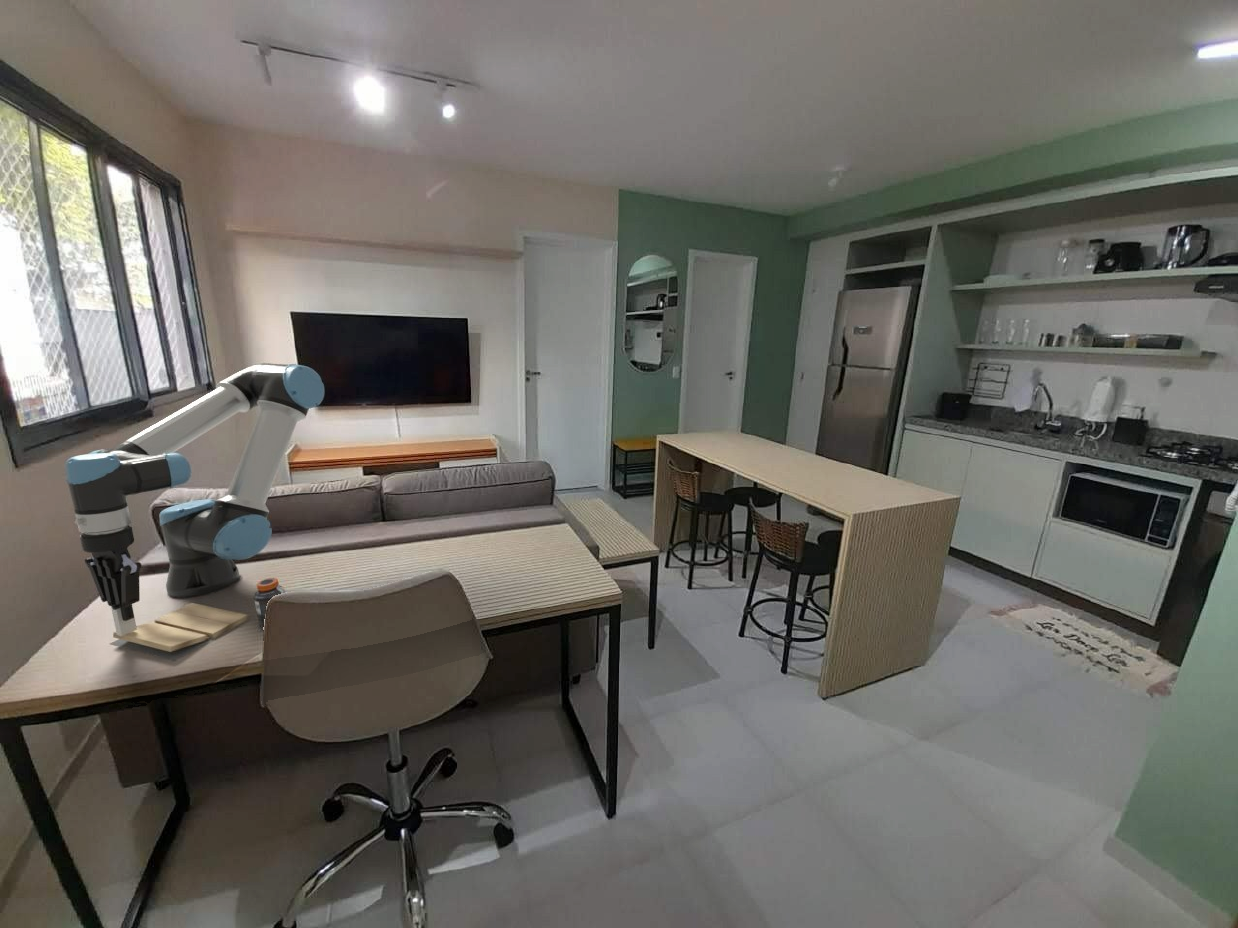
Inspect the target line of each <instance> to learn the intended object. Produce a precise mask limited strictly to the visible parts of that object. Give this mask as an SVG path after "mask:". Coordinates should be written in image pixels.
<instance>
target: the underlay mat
mask: <svg viewBox="0 0 1238 928" xmlns="http://www.w3.org/2000/svg"><path fill="white" fill-rule="evenodd" d="M253 618H254V617H253V616H249V615H248V620H246V621H244V622H243V623H241V624H239V625H237V626H235V627H234V628H232V629H230V630H228V631H226V632H224V633H223V634H221V635H219V636H217V637H215V638H210V637H209V639H208V640H205V641H202V642H199V643H196V644H193V645H190V646H187V647H184V648H181V649H177V650H174V651H171V652H169V651H165V650H161V649H157V648H153V647H149V646H145V645H141V644H137V643H133V642H129V641H125V640H122V639H118V638H117V639H116V640H114V641H112V642H110V643H109V645H112V646H116V647H120V648H122V649H123V648H124V649H128V650H130V651H135V652H139V653H142V654H143V653H144V654H146V655H151V656H154V657H158V658H163V659H166V660H170V661H177V660H179V659H181V658H183V657H184V656H186V655H188V654H191V653H192V652H193V651H195V650H197V649H199V648H201V647H202V646H204V645H206V644H208V643H210V642H213V641H214V640H215V639H218V638H219V637H221V636H223V635H225V634H226V633H228V632H230V631H232V630H233V629H235V628H237V627H239V626H241V625H243V624H244V623H246V622H248V621H250V620H252V619H253ZM153 623H155V621H154V622H153Z"/></svg>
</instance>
